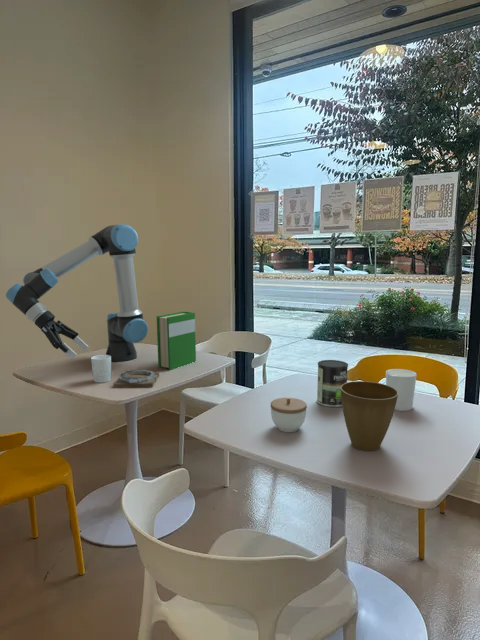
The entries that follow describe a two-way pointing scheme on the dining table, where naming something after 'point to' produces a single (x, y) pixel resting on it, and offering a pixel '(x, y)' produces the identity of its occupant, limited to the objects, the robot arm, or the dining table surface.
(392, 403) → the plant pot
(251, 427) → the dining table surface
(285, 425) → the lidded jar
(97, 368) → the white cup
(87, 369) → the dining table surface
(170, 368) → the hardback book
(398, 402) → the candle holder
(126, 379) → the ring holder
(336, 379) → the coffee can
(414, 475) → the dining table surface
